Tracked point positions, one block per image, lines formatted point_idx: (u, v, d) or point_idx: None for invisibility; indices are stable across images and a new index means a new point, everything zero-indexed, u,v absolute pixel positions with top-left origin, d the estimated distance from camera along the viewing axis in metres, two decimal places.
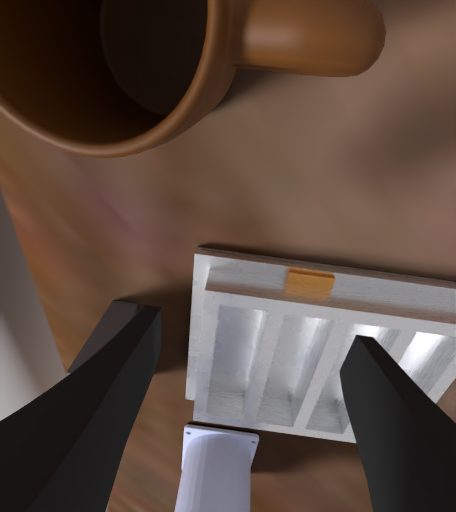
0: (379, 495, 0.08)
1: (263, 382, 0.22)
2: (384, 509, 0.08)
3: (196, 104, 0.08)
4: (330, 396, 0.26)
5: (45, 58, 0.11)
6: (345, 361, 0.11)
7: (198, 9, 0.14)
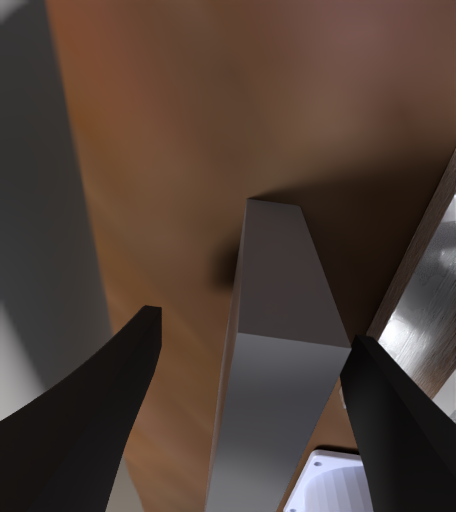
0: (379, 495, 0.08)
1: None
2: (384, 509, 0.08)
3: None
4: None
5: None
6: None
7: None
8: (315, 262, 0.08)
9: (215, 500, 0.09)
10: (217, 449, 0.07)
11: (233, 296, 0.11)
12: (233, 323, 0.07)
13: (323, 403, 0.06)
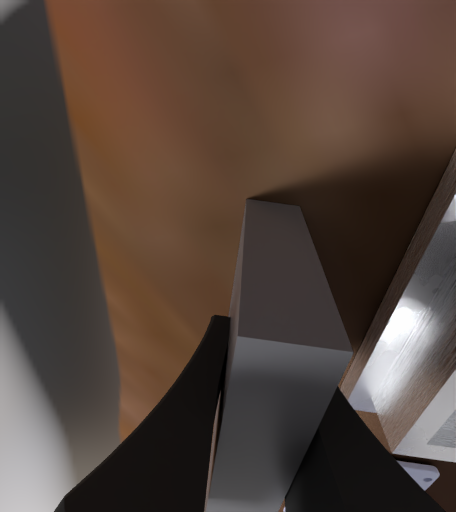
0: None
1: None
2: (290, 496, 0.08)
3: None
4: None
5: None
6: None
7: None
8: (315, 263, 0.08)
9: (215, 504, 0.08)
10: (217, 453, 0.07)
11: (233, 297, 0.11)
12: (233, 325, 0.07)
13: (324, 407, 0.06)
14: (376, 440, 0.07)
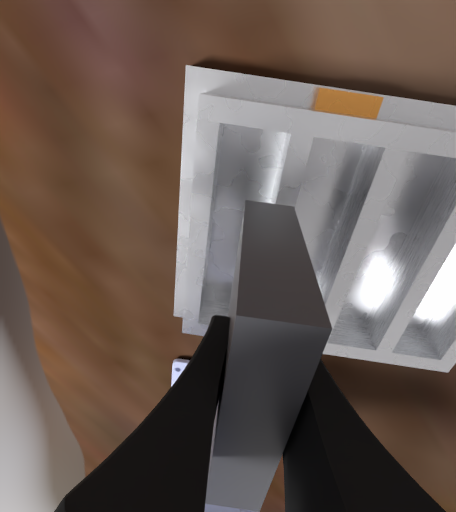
0: (289, 482, 0.08)
1: None
2: (290, 496, 0.08)
3: None
4: (358, 308, 0.21)
5: None
6: None
7: None
8: (305, 257, 0.09)
9: (216, 472, 0.09)
10: (218, 422, 0.08)
11: None
12: (232, 311, 0.08)
13: (310, 378, 0.07)
14: (376, 440, 0.07)
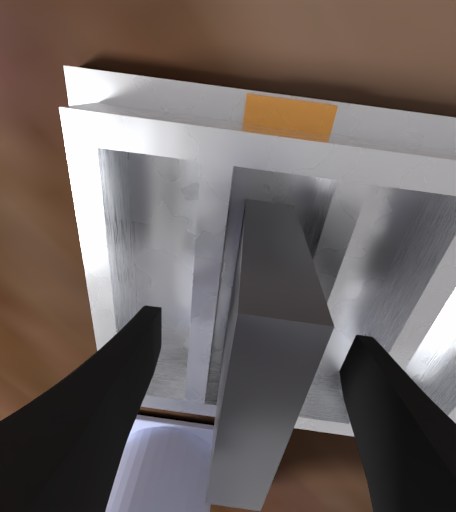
0: (379, 495, 0.08)
1: (209, 329, 0.13)
2: (384, 509, 0.08)
3: None
4: (328, 364, 0.17)
5: None
6: (345, 361, 0.11)
7: None
8: (306, 256, 0.09)
9: (217, 471, 0.09)
10: (219, 421, 0.08)
11: (233, 289, 0.12)
12: (233, 310, 0.08)
13: (312, 376, 0.07)
14: None
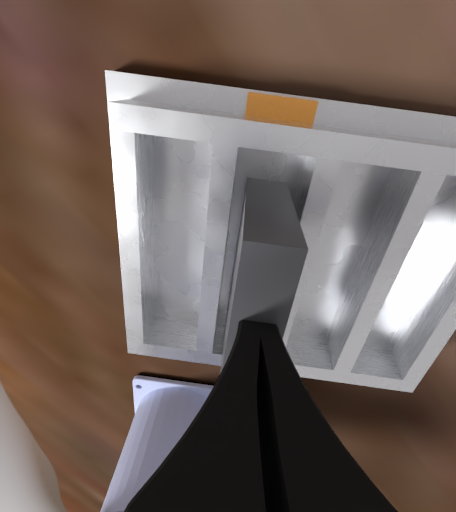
0: None
1: (217, 283, 0.15)
2: None
3: None
4: (317, 324, 0.19)
5: None
6: None
7: None
8: (293, 213, 0.11)
9: None
10: (228, 333, 0.11)
11: (237, 249, 0.15)
12: (238, 253, 0.11)
13: (294, 291, 0.10)
14: (332, 434, 0.07)
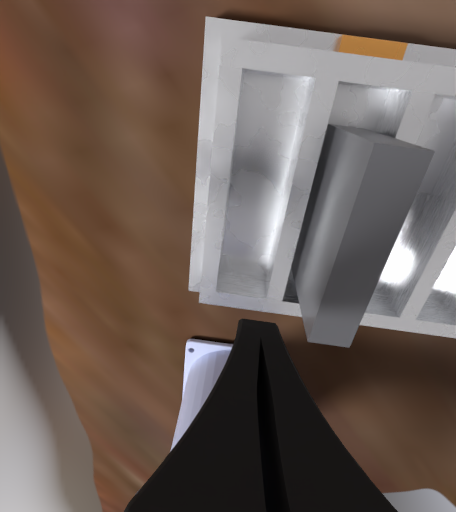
0: None
1: (298, 225, 0.16)
2: None
3: None
4: None
5: None
6: None
7: None
8: (394, 139, 0.12)
9: (326, 302, 0.13)
10: (339, 247, 0.12)
11: (320, 190, 0.16)
12: (345, 174, 0.12)
13: (413, 197, 0.11)
14: (332, 434, 0.07)
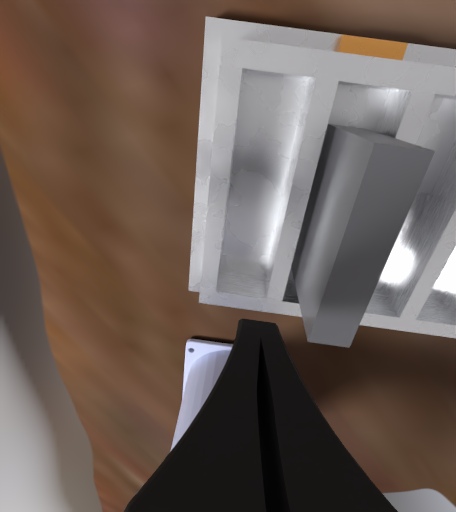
0: None
1: (298, 225, 0.16)
2: None
3: None
4: None
5: None
6: None
7: None
8: (394, 139, 0.12)
9: (326, 302, 0.13)
10: (339, 247, 0.12)
11: (320, 190, 0.16)
12: (345, 174, 0.12)
13: (413, 197, 0.11)
14: (332, 434, 0.07)
